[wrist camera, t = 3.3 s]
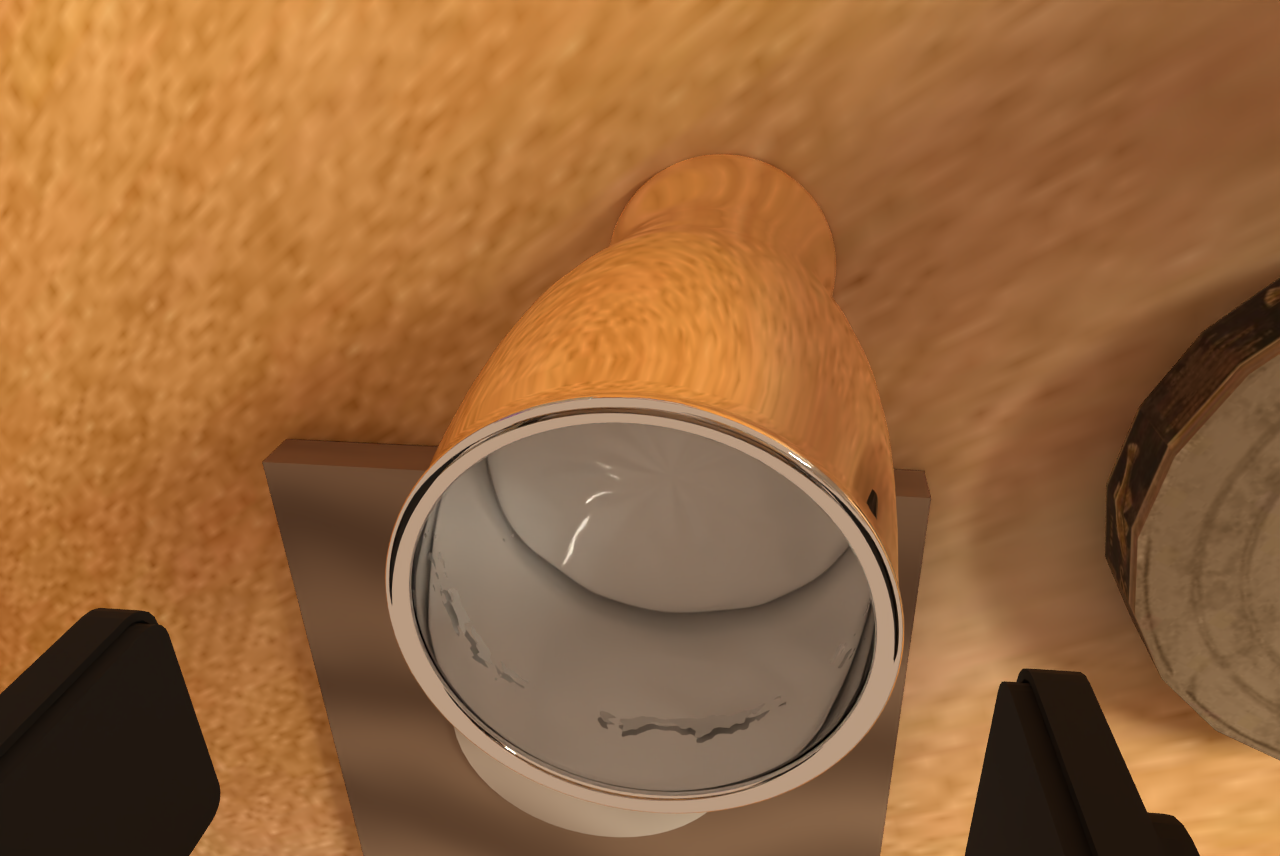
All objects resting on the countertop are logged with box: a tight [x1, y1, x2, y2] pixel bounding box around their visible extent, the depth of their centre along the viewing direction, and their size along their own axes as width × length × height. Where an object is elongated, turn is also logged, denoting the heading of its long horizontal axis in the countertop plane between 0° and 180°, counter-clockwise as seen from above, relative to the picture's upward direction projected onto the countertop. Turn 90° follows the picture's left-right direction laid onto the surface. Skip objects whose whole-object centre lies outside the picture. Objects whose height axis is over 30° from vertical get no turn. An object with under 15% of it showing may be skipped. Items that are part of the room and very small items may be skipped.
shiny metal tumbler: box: [385, 154, 904, 813], centre depth 18 cm, size 7×7×15 cm
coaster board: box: [263, 439, 931, 856], centre depth 31 cm, size 20×20×2 cm
